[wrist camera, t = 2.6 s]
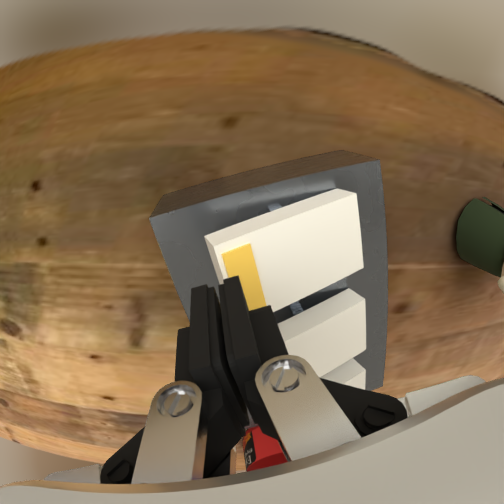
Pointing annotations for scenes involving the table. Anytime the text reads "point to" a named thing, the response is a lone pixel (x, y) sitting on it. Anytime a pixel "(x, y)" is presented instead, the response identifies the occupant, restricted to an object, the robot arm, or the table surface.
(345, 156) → the console
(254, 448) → the canned food
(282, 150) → the table surface
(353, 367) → the rocker
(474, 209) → the character mug
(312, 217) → the rocker
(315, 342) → the rocker
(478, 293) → the table surface
